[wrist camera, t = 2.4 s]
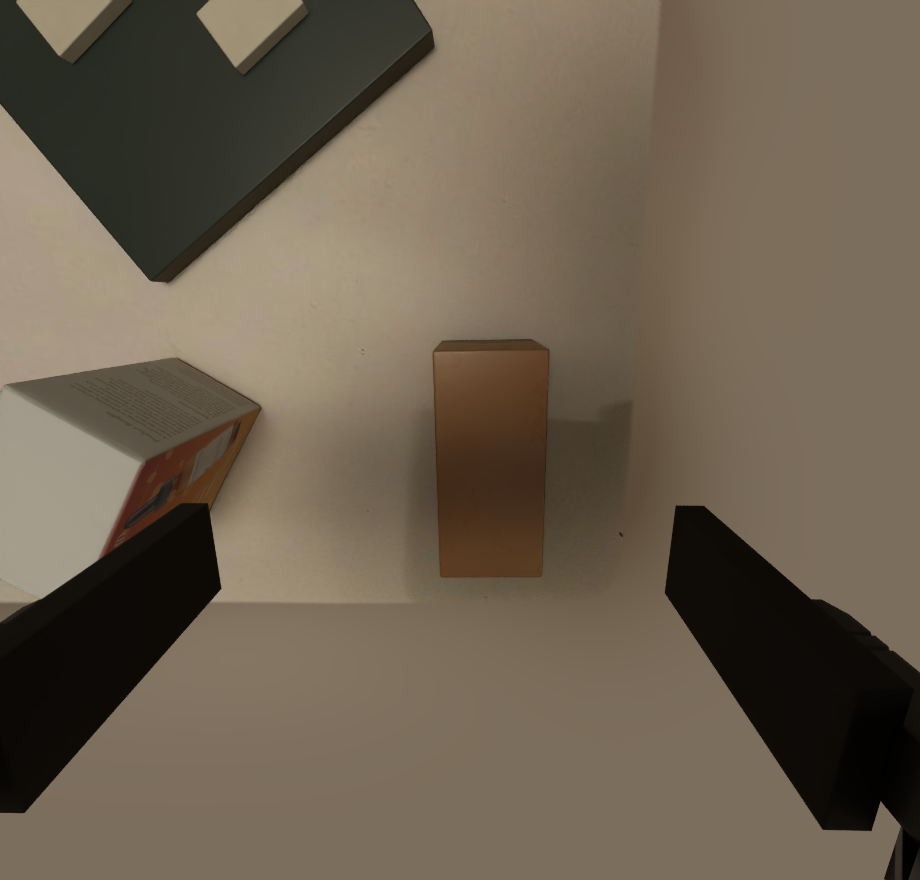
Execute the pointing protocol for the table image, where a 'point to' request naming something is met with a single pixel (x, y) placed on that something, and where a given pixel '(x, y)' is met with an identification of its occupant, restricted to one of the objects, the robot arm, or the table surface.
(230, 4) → the cream rectangular block
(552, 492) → the table surface
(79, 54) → the cream rectangular block
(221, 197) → the chalkboard
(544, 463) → the brown rectangular block
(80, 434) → the small box
